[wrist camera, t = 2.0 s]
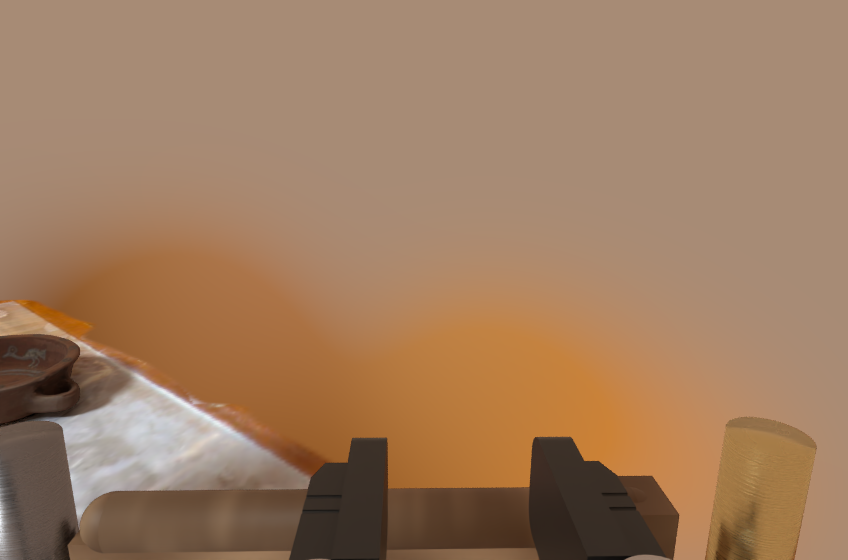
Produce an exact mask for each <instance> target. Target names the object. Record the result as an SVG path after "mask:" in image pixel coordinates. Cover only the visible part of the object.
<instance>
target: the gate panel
mask: <svg viewBox="0 0 848 560" xmlns="http://www.w3.org/2000/svg"><path fill="white" fill-rule="evenodd" d="M618 478H619V479H620V481H621V483H622V484H623V486H624V488H625V489H626V491H627V493H628V496H630V497H631V499H632V501H633V502H634V504H635V506H636V510H637V511H639V512H640V514H641V516H642V517H643V519H644V521H645V522H646V524H647V526H648V527H649V529H650V531H651V532H652V534H653V536H654V537H655V539H656V541H657V542H658V544H659V546H660V547H661V549H662V551H663V552H664V554H665V555H666V557H667V558H669V559H671V560H673V557H674V549H675V543H676V536H677V528H678V521H679V514H678V512H677V511H676V509H675V508H674V507H673V505H672V504H671V502H670V501H669V499H668V498H667V497H666V495H665V494H664V492H663V491H662V490H661V488H660V487H659V485H658V484H657V482H656V481H655V479H654V478H653V477H652V476H618ZM529 490H530V487H525V488H524V487H522V488H420V489H419V488H418V489H417V488H416V489H415V488H409V489H388V531H387V554H386V560H539V557H538V554H537V550H536V547H535V544H534V541H533V537H532V534H531V529H530V522H529ZM307 491H308V489H296V490H183V491H114V492H109V493H106V494H103V495H101V496H100V497H98V498H96V499H95V500H94V501H93V502H91V503H90V505H89V506H88V507H87V508H86V510H85V511H84V513H83V515H82V518H81V521H80V530H79V532H78V533H77V534H76V535H75V537H74V538H73V539H72V540H71V542H70V543H69V544H68V550H69V556H70V560H289V558H290V554H291V550H292V547H293V543H294V539H295V536H296V532H297V528H298V524H299V521H300V517H301V514H302V510H303V506H304V502H305V499H306V495H307Z"/></svg>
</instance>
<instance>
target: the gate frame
mask: <svg viewBox="0 0 848 560" xmlns="http://www.w3.org/2000/svg"><path fill="white" fill-rule="evenodd" d="M816 449H817V448H816V444H815V442H814V441H813V440H812V438H810V437H809V436H808V435H807V434H805V433H804V432H802V431H800V430H798V429H796V428H794V427H792V426H789V425H787V424H784V423H781V422H777V421H774V420H769V419H764V418H757V417H741V418H735V419H732V420H730V421H729V422H728V423H727V424H726V428H725V435H724V442H723V447H722V454H721V461H720V468H719V473H718V480H717V486H716V493H715V500H714V506H713V512H712V518H711V526H710V531H709V538H708V545H707V551H706V557H705V560H794V558H795V553H796V548H797V543H798V538H799V533H800V528H801V523H802V518H803V513H804V508H805V503H806V498H807V493H808V488H809V483H810V478H811V473H812V468H813V463H814V458H815V454H816ZM78 532H79V528H78V522H77V516H76V510H75V503H74V497H73V491H72V485H71V479H70V472H69V466H68V460H67V454H66V448H65V442H64V435H63V429H62V427H61V426H60V425H59V424H57V423H54V422H50V421H28V422H21V423H16V424H12V425H8V426H4V427H1V428H0V560H70V556H69V550H68V544H69V543H70V542H71V540H72V539H73V538H74V537H75V535H76V534H77V533H78Z"/></svg>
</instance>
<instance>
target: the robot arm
mask: <svg viewBox="0 0 848 560" xmlns="http://www.w3.org/2000/svg"><path fill="white" fill-rule="evenodd" d="M387 453H388V452H387V438H352V441H351V447H350V452H349V458H348V463H325V464H324V465H323V466H322V467H321V468H320V469H319V470H318V471H317V472H316V473H315V474H314V475H313V476H312V477H311V480H310V484H309V487H308V491H307V495H306V499H305V502H304V506H303V510H302V514H301V517H300V521H299V524H298V528H297V532H296V536H295V539H294V543H293V547H292V550H291V554H290V558H289V560H386V554H387V531H388V467H387V466H388V458H387V457H388V456H387ZM529 522H530V529H531V534H532V537H533V541H534V544H535V547H536V550H537V554H538V557H539V560H671V559H669V558H667V557H666V555H665V554H664V552H663V551H662V549H661V547H660V546H659V544H658V542H657V541H656V539H655V537H654V536H653V534H652V532H651V531H650V529H649V527H648V526H647V524H646V522H645V521H644V519H643V517H642V516H641V514H640V512H639V511H637V510H636V506H635V504H634V502H633V501H632V499H631V497H630V496H628V493H627V491H626V489H625V488H624V486H623V484H622V483H621V481H620V479H619V478H618V476H617V475H616V474H615V473H613V472H612V471H611V470H609V469H608V468H607V467H605V466H604V465H603V464H601V463H600V462H599V461H584V460H583V458H582V456H581V454H580V452H579V450H578V449H577V446H576V445H575V443H574V441H573V439H572V438H571V437H535V438H534V440H533V445H532V459H531V474H530V490H529Z"/></svg>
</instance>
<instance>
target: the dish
mask: <svg viewBox="0 0 848 560" xmlns="http://www.w3.org/2000/svg"><path fill="white" fill-rule="evenodd" d="M79 355H80V348H79V346H78V345H77V344H75V343H74V342H72V341H70V340H68V339H65V338H61V337H57V336H52V335H43V334H27V335H9V336H0V424H3V423H7V422H11V421H15V420H18V419H21V418H24V417H26V416H29V415H31V414H34V413H49V412H58V411H64V410H67V409H70V408H72V407H73V406H75V405H76V403H77V402H78V400H79V397H80V389H79V386H78V384H77V383H76V382H74V381H73V380H72V379H71V378H70V376H71V372H72V367H73V364H74V362H75V361H76V360H77V359H78V357H79Z"/></svg>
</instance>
